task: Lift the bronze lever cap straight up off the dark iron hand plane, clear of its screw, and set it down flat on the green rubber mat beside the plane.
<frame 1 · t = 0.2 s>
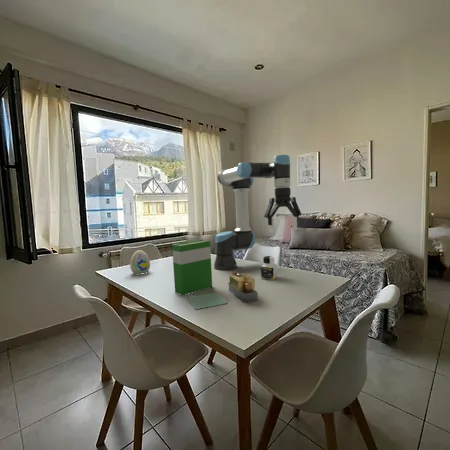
hand: (283, 230, 126), 28 cm above the table, tool pointing down, fingers open, 13 cm apart
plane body: (242, 295, 118), on the table
medicine bottle: (269, 277, 143), on the table
mat: (206, 300, 113), on the table
decorative egg: (140, 273, 164), on the table
lever cap: (241, 286, 118), point 4 cm above the table, touching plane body
hardback book: (194, 289, 129), on the table
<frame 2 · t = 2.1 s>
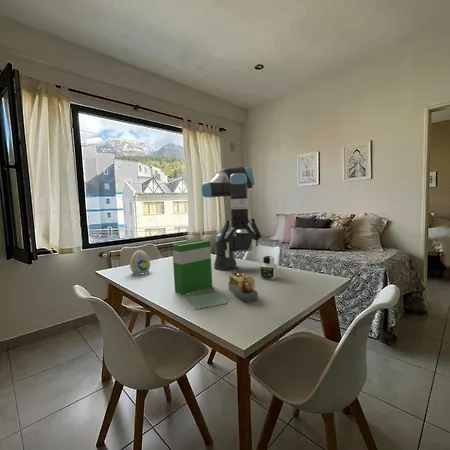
hand: (241, 255, 115), 19 cm above the table, tool pointing down, fingers open, 13 cm apart
nothing on the table moved.
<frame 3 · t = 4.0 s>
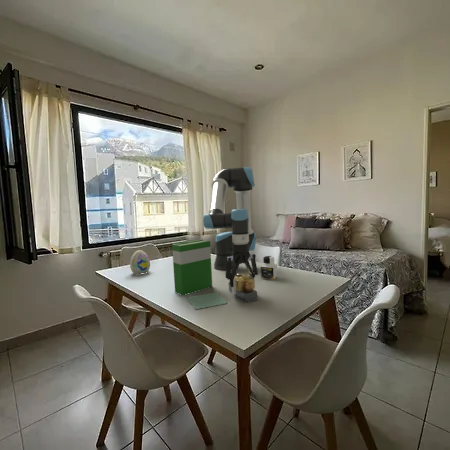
hand: (242, 291, 117), 2 cm above the table, tool pointing down, fingers closed on lever cap, 8 cm apart
lever cap: (241, 286, 118), point 4 cm above the table, touching gripper, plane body
everything else where it was.
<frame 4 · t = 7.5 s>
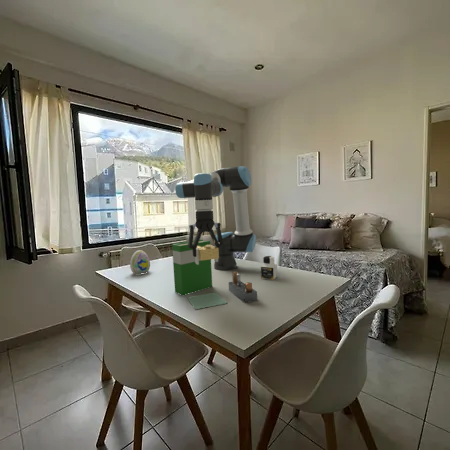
hand: (206, 262, 111), 17 cm above the table, tool pointing down, fingers closed on lever cap, 8 cm apart
lever cap: (206, 257, 111), point 20 cm above the table, touching gripper
everything else where it was.
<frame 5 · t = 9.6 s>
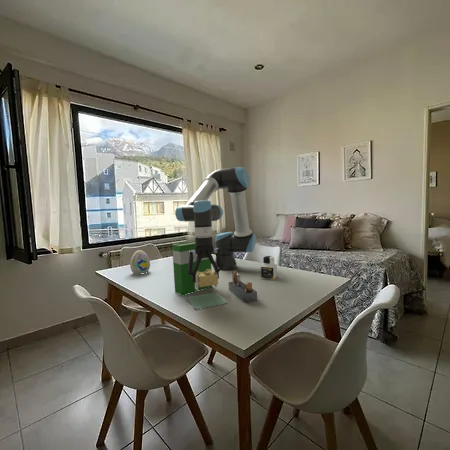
hand: (206, 287, 111), 6 cm above the table, tool pointing down, fingers closed on lever cap, 8 cm apart
lever cap: (205, 282, 112), point 8 cm above the table, touching gripper
everything else where it was.
when the fingers open (2 cm above the table, at t = 11.3 s): lever cap drops 4 cm, resting on mat.
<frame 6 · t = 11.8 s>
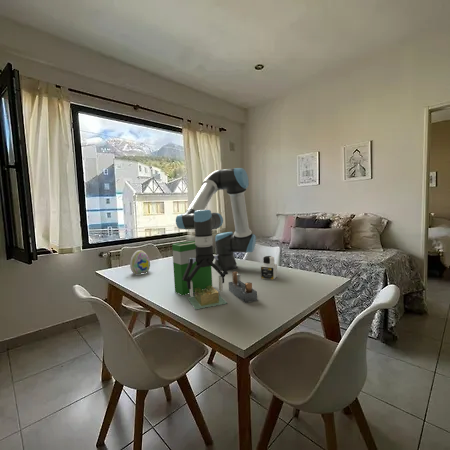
hand: (206, 293, 112), 4 cm above the table, tool pointing down, fingers open, 13 cm apart
lever cap: (206, 300, 113), resting on mat
everything else where it was.
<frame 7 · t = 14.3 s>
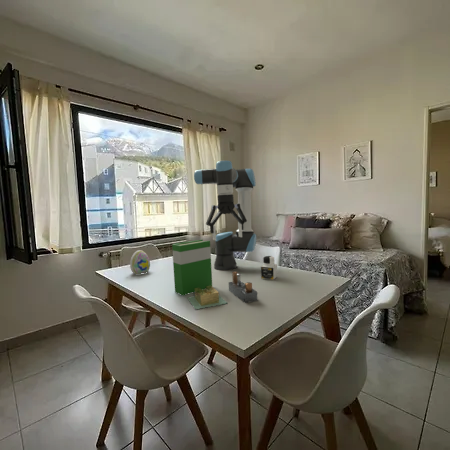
hand: (227, 238, 123), 26 cm above the table, tool pointing down, fingers open, 13 cm apart
nothing on the table moved.
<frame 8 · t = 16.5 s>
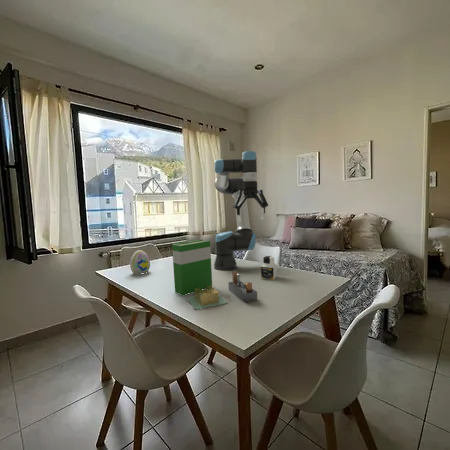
hand: (251, 220, 138), 33 cm above the table, tool pointing down, fingers open, 13 cm apart
nothing on the table moved.
at the end: lever cap inside the target area on the mat (0.0 cm from its centre), point 0.4 cm above the mat's base; lever cap tilted 0°; lever cap touching mat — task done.
